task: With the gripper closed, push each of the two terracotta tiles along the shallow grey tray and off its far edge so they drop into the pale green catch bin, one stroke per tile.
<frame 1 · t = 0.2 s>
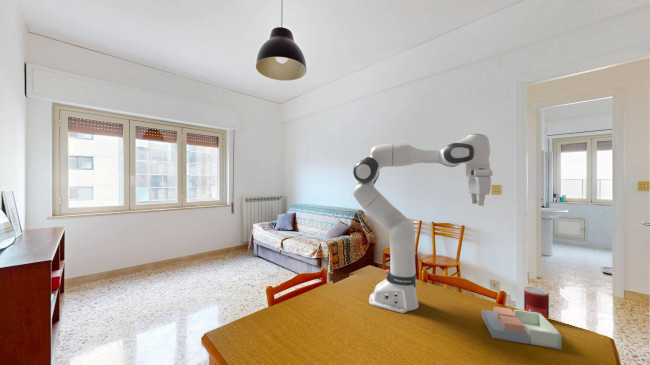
hand: (477, 204, 108), 47 cm above the table, fingers open, 8 cm apart
canned food: (536, 316, 107), on the table
tile b: (511, 327, 93), point 3 cm above the table, touching shallow grey tray
bin: (535, 334, 94), on the table
shallow grey tray: (503, 329, 97), on the table
tile a: (504, 317, 100), point 3 cm above the table, touching shallow grey tray
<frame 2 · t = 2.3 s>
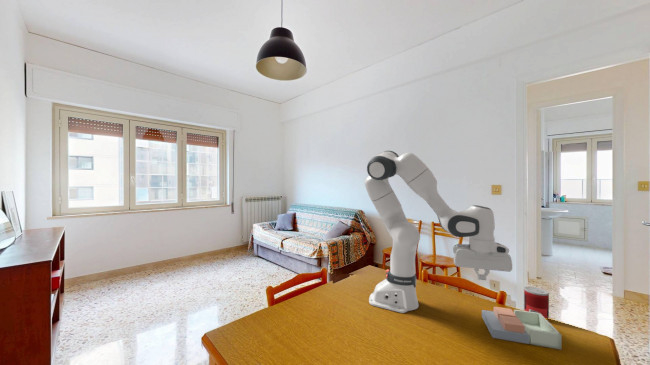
hand: (481, 279, 102), 17 cm above the table, fingers closed
nothing on the table moved.
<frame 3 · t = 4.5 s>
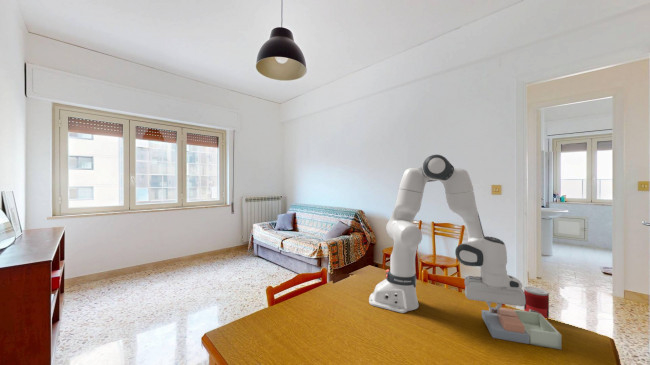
hand: (493, 312, 101), 4 cm above the table, fingers closed
tile a: (506, 317, 100), point 3 cm above the table, touching shallow grey tray, gripper
everything else where it was.
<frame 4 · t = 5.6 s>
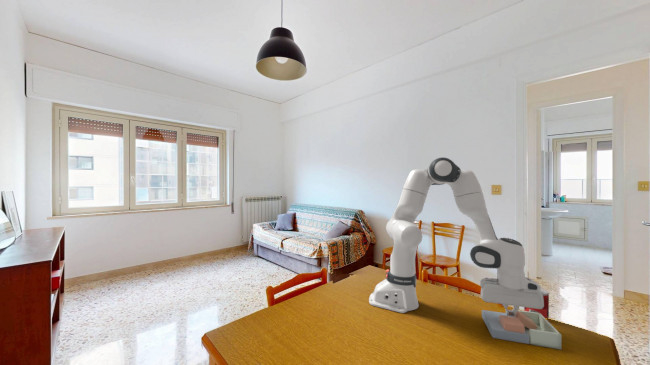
hand: (510, 315, 99), 4 cm above the table, fingers closed
tile a: (522, 322, 98), point 2 cm above the table, tilted 29°, touching gripper
everything else where it was.
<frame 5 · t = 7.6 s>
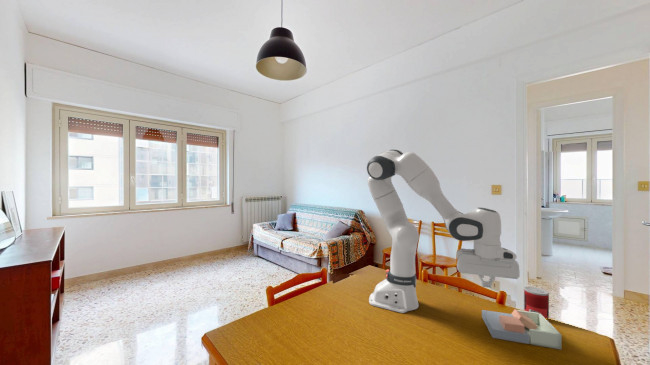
hand: (486, 286, 96), 17 cm above the table, fingers closed
tile a: (522, 322, 98), point 2 cm above the table, tilted 29°, touching shallow grey tray, bin
everything else where it was.
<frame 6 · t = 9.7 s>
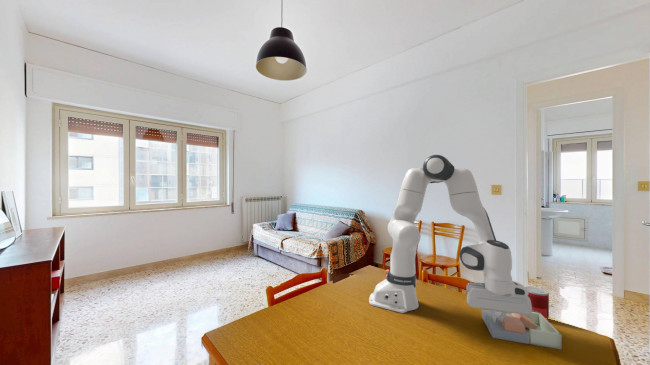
hand: (497, 321, 95), 4 cm above the table, fingers closed
tile b: (511, 327, 93), point 3 cm above the table, touching shallow grey tray, gripper
everything else where it was.
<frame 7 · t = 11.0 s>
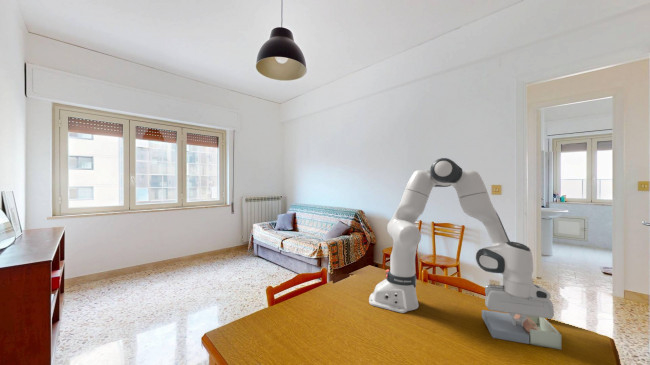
hand: (517, 325, 93), 4 cm above the table, fingers closed
tile b: (529, 331, 91), point 2 cm above the table, tilted 39°, touching bin, gripper
everything else where it was.
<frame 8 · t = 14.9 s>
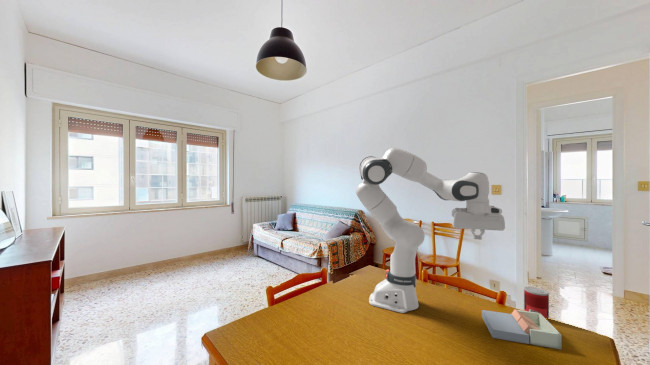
hand: (477, 239, 113), 31 cm above the table, fingers closed
tile b: (529, 332, 92), point 2 cm above the table, tilted 31°, touching shallow grey tray, bin
everything else where it was.
at the end: tile a inside the target area on the bin (4.6 cm from its centre), point 2.0 cm above the bin's base; tile b inside the target area on the bin (4.6 cm from its centre), point 2.1 cm above the bin's base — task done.
